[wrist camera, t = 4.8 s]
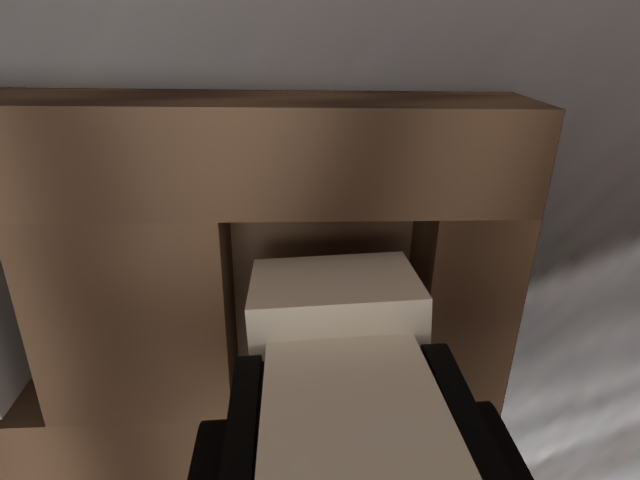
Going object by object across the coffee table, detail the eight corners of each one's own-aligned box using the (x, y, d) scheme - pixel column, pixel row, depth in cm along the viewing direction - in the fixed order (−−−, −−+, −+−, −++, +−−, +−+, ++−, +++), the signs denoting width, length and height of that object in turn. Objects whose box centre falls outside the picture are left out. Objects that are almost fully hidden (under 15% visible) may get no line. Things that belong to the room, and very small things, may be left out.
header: (512, 92, 15) (565, 109, 12) (459, 412, 19) (487, 476, 17) (-305, 84, 13) (-460, 102, 10) (-141, 432, 18) (-218, 507, 15)
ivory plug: (402, 251, 14) (546, 479, 6) (400, 401, 15) (511, 733, 7) (254, 259, 13) (207, 504, 6) (266, 409, 15) (243, 759, 7)
